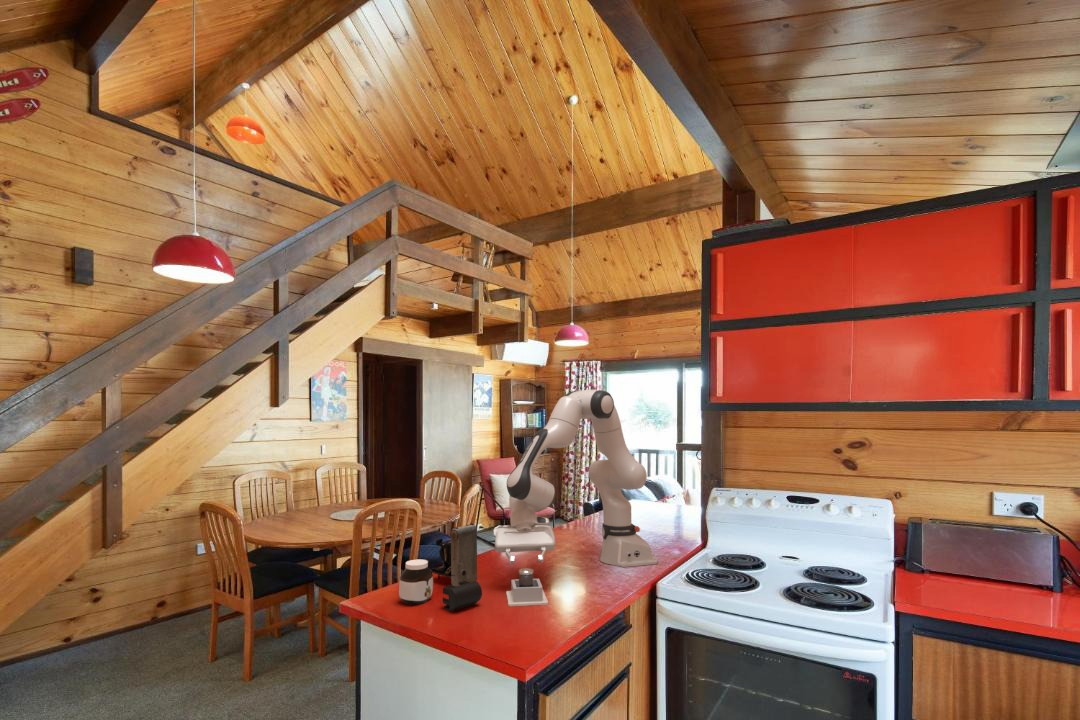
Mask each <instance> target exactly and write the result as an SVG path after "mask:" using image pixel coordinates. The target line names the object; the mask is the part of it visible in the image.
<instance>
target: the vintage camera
mask: <svg viewBox="0 0 1080 720" xmlns="http://www.w3.org/2000/svg"><path fill="white" fill-rule="evenodd" d="M477 531H478V529H477V526H476V525H475V524H474V523H472V522H471V523H469V524H467V525H464V526H457V527H453V528H452V530H451V532H450V542H445V543H444V544H443V541H444V540H443V538H438V539H436V540H435V544H436V547H439V551H438V552H439V557H440V558H441V560H442V561H443V563H442V566H439V567H438V566H437V567H436V568H433V567H431V569H430V570H431V572H432V574H435V575H437V580H439V579H440V578H441V577H440V576H442V577H447V578H450V579H451V582H450V584H451V585H453V586H460V585H459V582H463V581H467V582H473V581H477V580H478V538H477V535H478V532H477ZM477 582H478V581H477Z"/></svg>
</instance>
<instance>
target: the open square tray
mask: <svg viewBox="0 0 1080 720" xmlns="http://www.w3.org/2000/svg"><path fill="white" fill-rule="evenodd" d="M510 583H511V584H510V587H511V588H510V590H506V592H505V593H506V599H507V605H508V607H519V606H520V607H524V606H525V607H526V606H527V607H528V606H547V605H549V601H548V598H547V596H546V593H545V591H544V589H543V585H542V583H541V580H540V578H533V587H519V578H518V579H516V578H515V579H511V581H510Z"/></svg>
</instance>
